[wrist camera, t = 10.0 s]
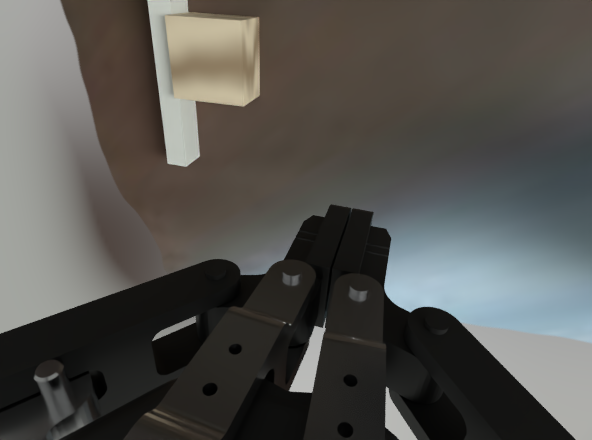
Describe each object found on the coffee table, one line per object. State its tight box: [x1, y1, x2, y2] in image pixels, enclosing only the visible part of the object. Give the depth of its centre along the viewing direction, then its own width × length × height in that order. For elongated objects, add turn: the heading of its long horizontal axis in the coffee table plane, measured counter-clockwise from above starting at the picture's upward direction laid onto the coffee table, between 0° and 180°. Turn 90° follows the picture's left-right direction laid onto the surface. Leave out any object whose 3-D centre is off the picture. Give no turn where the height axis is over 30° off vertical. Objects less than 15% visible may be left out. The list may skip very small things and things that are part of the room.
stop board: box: [148, 0, 200, 167], centre depth 46 cm, size 20×2×4 cm, turn 177°
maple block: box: [165, 12, 260, 106], centre depth 43 cm, size 8×8×5 cm
